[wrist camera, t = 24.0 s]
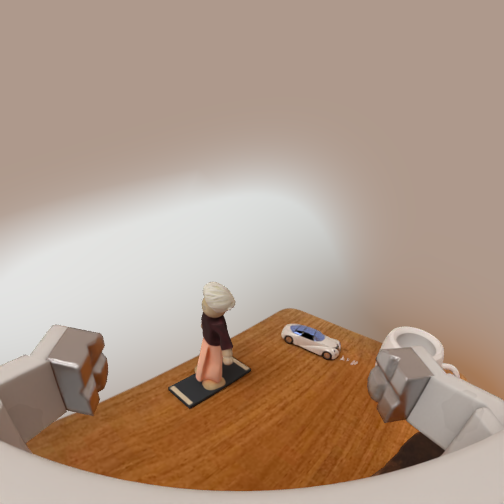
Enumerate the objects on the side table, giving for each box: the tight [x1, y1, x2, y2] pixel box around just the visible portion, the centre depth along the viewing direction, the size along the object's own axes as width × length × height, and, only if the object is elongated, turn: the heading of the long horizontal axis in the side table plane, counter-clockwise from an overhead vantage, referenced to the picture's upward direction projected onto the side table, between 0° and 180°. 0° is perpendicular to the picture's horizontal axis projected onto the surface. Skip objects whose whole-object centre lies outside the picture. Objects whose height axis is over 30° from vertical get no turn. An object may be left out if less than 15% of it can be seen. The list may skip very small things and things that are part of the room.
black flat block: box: [168, 357, 251, 409], centre depth 35 cm, size 10×4×1 cm, turn 139°
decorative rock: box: [370, 432, 445, 477], centre depth 18 cm, size 12×6×11 cm, turn 102°
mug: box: [375, 327, 460, 378], centre depth 33 cm, size 12×8×8 cm
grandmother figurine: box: [195, 282, 235, 390], centre depth 32 cm, size 8×4×13 cm, turn 38°
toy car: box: [282, 324, 356, 365], centre depth 42 cm, size 4×12×3 cm, turn 56°
